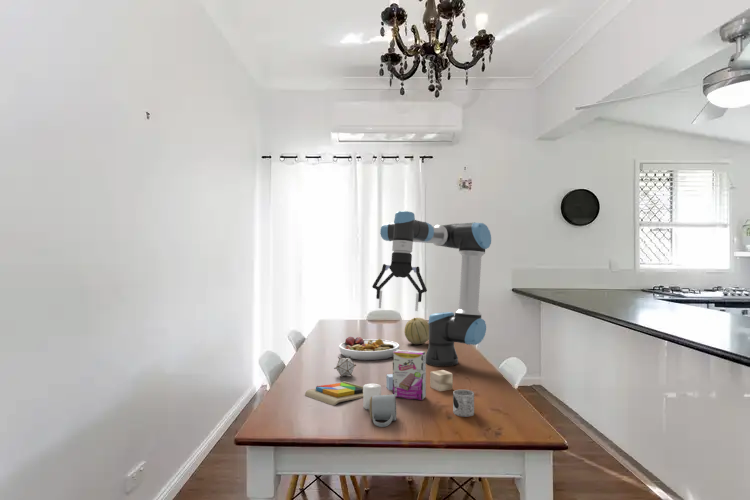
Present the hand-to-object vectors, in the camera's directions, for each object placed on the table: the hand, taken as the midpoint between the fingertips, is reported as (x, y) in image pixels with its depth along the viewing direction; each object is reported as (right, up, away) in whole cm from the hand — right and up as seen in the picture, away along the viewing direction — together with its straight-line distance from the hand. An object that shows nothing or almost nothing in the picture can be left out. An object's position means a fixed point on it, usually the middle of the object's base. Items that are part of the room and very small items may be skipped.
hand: (398, 309), depth 177 cm
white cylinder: (-9, -31, -17) cm, 36 cm away
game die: (-21, -31, +22) cm, 43 cm away
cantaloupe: (+15, -30, +87) cm, 93 cm away
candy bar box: (+4, -31, -7) cm, 32 cm away
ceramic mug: (-6, -31, -30) cm, 43 cm away
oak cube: (+17, -30, +4) cm, 35 cm away
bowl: (-11, -31, +63) cm, 71 cm away
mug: (+20, -31, -25) cm, 44 cm away
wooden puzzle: (-22, -31, -3) cm, 38 cm away
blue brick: (0, -31, +5) cm, 31 cm away
